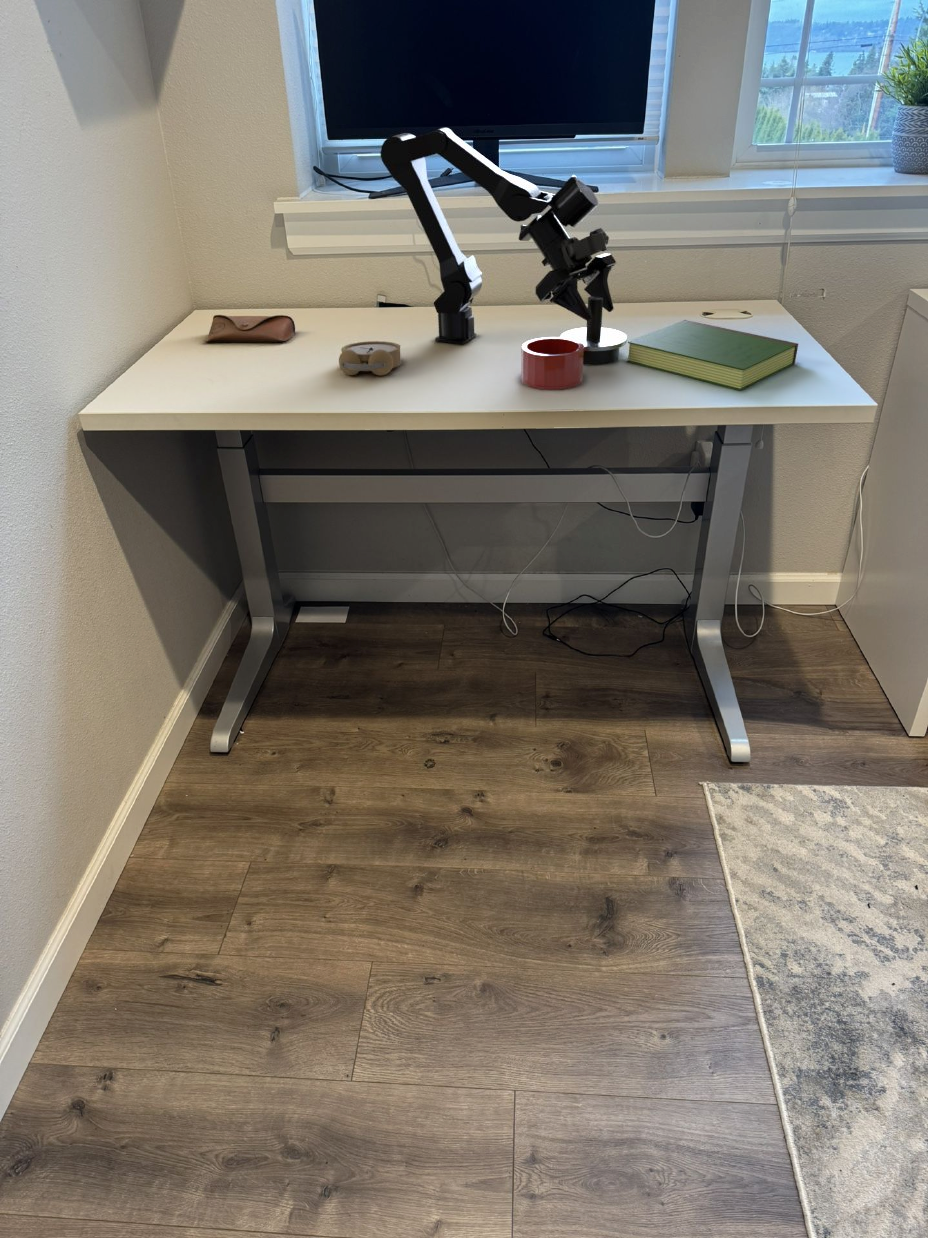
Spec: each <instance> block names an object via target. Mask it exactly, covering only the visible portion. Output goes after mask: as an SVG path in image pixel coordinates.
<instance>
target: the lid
mask: <svg viewBox="0 0 928 1238" xmlns="http://www.w3.org/2000/svg"><path fill="white" fill-rule="evenodd" d="M587 308H588V310H589V312H590V314H591V319H590V320H588V321H586V327H579V328H572V329H570V330H567V331H565V332H562V333H561V334H560V336H559V337H562V338H570V339H573V340H577V341H579V342H581V343H582V344H583V345H584V351H606V350H612V349H616V348H619V349H620V348H622V347H624V346H625V345H626V344H627V343H628V336H627V334H626V333H624V332H622V331H620V330H617V329H615V328H614V329H613V328H609V327H608V328H607V327H602V326H603V325H602V324H603V310H604V308H603V297H601V296H590V295H589V296H588V297H587Z"/></svg>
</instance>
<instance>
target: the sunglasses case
mask: <svg viewBox="0 0 928 1238" xmlns="http://www.w3.org/2000/svg"><path fill="white" fill-rule="evenodd" d="M295 335H296V325H295V321H294V319H293V318H292V317H291V316H289V315H285V314H277V315H223V314H215V315H213V317H212V322H211V326H210V328H209V332H208V335H207V339H206V340H204V343H216V342H217V343H247V344H249V343H252V344H265V343H266V344H267V343H269V344H270V343H279V342H287V341H289V340H291V339H292V338H293V337H294V336H295Z"/></svg>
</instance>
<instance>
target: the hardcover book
mask: <svg viewBox="0 0 928 1238" xmlns="http://www.w3.org/2000/svg"><path fill="white" fill-rule="evenodd" d="M627 344H628V345H629V346H628V359H626V362H627V363H631V364H633V365H638V366H642V367H646V368H649V369H653V370H658V371H662V372H665V373H669V374H673V375H676V376H677V375H678V376H682V377H685V378H688V379H692V380H697V381H701V382H705V383H708V384H713V385H717V386H720V387H724V388H728V389H732V390H736V391H739V392H741V391H743V390H745V389H747V388H749V387H751V386H753V385H756V384H757V383H759V382H761V381H764V380H765V379H767V378H769V377H771V376H773V375H775V374H777V373H780V372H782V371H783V370H786V369H788V368H790V367H791V366H793V365H795V364H796V360H797V354H798V348H799V343H798V342H793V341H788V340H783V339H779V338H773V337H769V336H764V335H758V334H756V333H755V334H754V333H750V332H746V331H739V330H736V329H731V328H726V327H721V326H717V325H712V324H707V323H702V322H697V321H692V320H687V319H684V320H681V321H678V322H675V323H673V324H670V325H668V326H665V327H663V328H660V329H658V330H655V331H652V332H649V333H646V334H644V335H642V336H639V337H636V338H634V339H631V340H629V341H628V340H627Z"/></svg>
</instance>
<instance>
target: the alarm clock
mask: <svg viewBox="0 0 928 1238" xmlns="http://www.w3.org/2000/svg"><path fill="white" fill-rule="evenodd" d="M340 351H341V353H340V354H339V356H338V366H339V368H340V370H341V371H342V372H343V373H344V374H345V375H349V376H355V375H357V374H359V372H372V374H374V375H376V376H386V375H387V374H389V373H390V372H391V371H392V369H395V368H397V367H399V366H401V365H402V359H401V358H402V357H401V345H400V344H398V343H395V342H392V341H381V340H373V341H372V340H369V341H358V342H353V343H349V344H346V345H344V346H342V347H341V349H340Z"/></svg>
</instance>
